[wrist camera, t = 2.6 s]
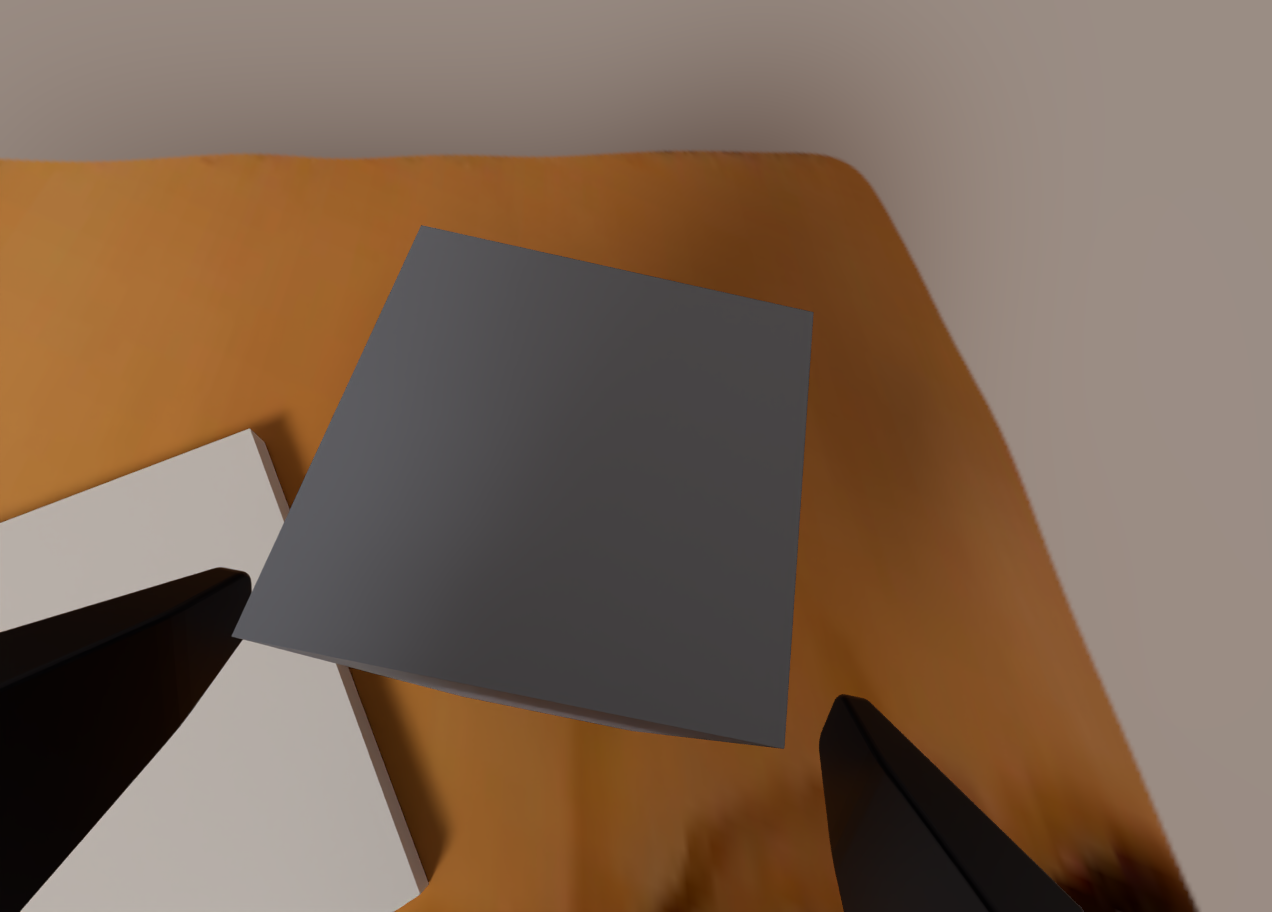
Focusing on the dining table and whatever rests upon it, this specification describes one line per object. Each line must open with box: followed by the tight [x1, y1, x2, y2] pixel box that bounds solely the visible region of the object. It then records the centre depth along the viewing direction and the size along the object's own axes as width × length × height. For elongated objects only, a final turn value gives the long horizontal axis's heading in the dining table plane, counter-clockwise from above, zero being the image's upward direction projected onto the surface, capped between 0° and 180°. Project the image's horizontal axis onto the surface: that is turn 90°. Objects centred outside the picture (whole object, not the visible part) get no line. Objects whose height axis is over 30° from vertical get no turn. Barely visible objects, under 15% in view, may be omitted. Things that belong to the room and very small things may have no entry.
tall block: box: [232, 225, 813, 749], centre depth 12 cm, size 5×5×13 cm
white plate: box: [0, 429, 429, 912], centre depth 15 cm, size 14×14×1 cm
